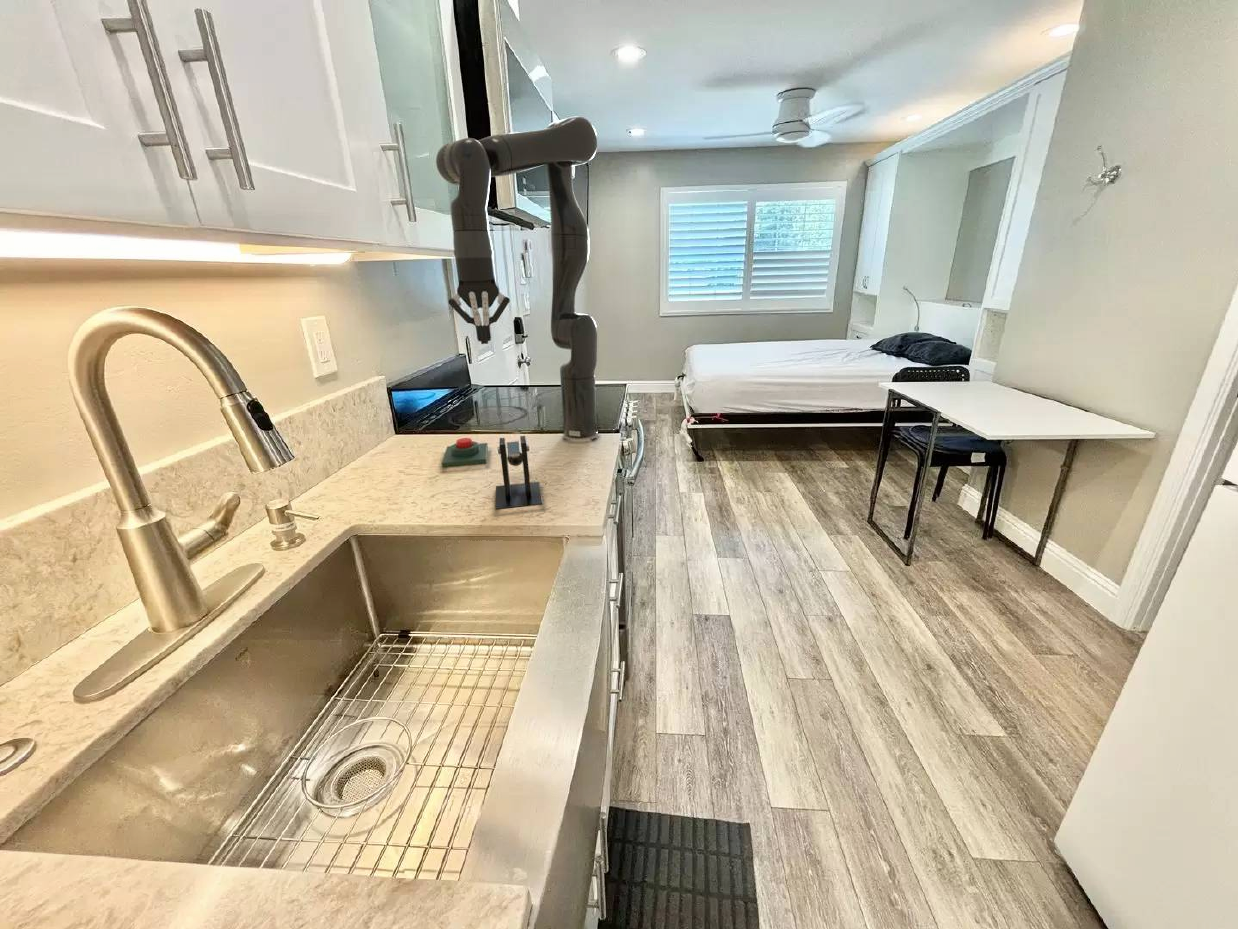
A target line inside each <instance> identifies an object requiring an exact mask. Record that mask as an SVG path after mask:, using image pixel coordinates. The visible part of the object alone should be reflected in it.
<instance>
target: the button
mask: <svg viewBox="0 0 1238 929" xmlns="http://www.w3.org/2000/svg"><path fill="white" fill-rule="evenodd" d="M472 441H473V439H472V438H470V437H462V438H459V439H457V440H456V442H455V443H457V448H461V449H462V448H469V447H472Z"/></svg>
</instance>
